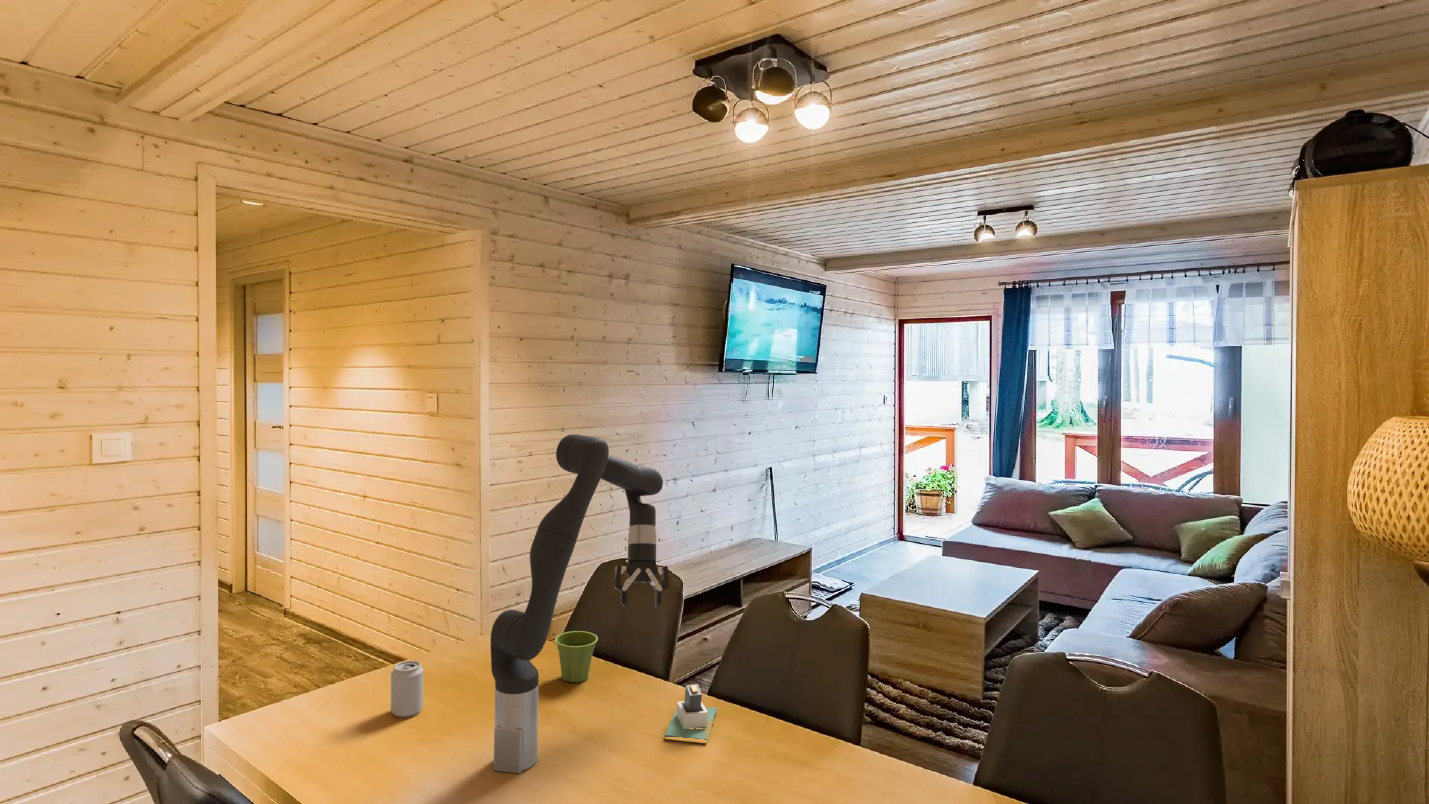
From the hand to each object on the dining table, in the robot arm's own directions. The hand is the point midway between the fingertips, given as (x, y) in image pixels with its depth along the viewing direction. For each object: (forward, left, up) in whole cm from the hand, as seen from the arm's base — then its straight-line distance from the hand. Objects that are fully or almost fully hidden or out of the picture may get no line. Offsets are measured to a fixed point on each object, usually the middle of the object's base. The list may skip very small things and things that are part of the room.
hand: (641, 606), depth 190 cm
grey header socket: (-10, -16, -24) cm, 31 cm away
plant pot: (+10, +21, -26) cm, 35 cm away
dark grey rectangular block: (-9, -16, -24) cm, 30 cm away
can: (-18, +55, -26) cm, 63 cm away
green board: (-10, -16, -25) cm, 31 cm away
